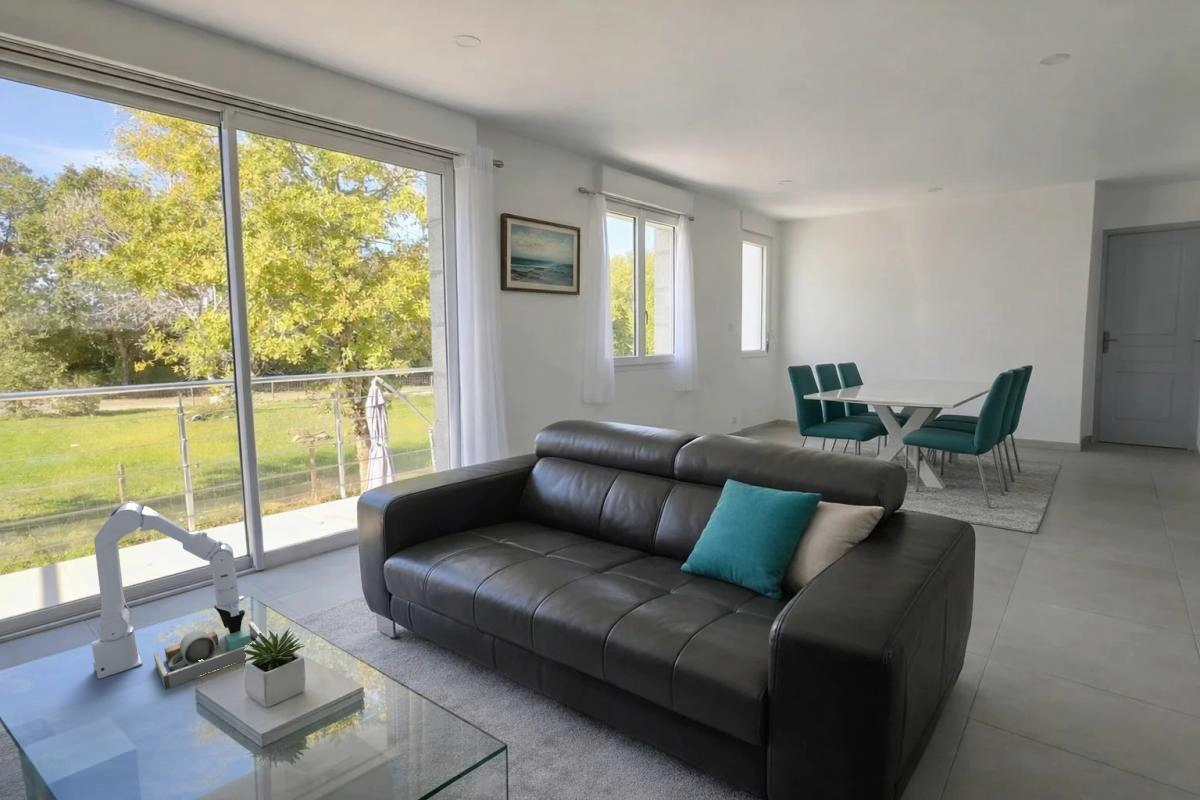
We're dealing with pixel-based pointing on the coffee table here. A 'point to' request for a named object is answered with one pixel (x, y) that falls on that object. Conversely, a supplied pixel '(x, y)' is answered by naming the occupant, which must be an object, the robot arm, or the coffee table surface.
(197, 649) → the ceramic mug
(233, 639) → the turquoise cube box
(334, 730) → the coffee table surface
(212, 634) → the brown wooden block
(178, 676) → the frame
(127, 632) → the robot arm
